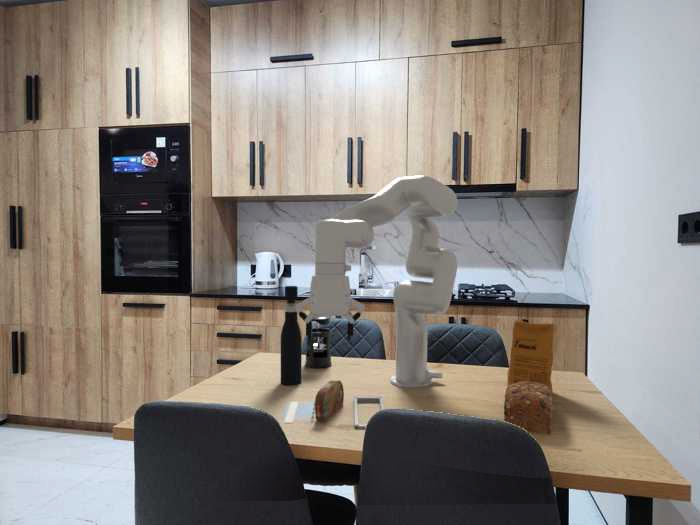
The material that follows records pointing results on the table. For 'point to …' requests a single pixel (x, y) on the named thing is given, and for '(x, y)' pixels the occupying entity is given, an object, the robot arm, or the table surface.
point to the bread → (529, 406)
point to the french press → (319, 345)
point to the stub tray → (365, 399)
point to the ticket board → (298, 411)
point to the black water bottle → (291, 342)
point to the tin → (328, 400)
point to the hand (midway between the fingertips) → (329, 338)
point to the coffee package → (531, 353)
